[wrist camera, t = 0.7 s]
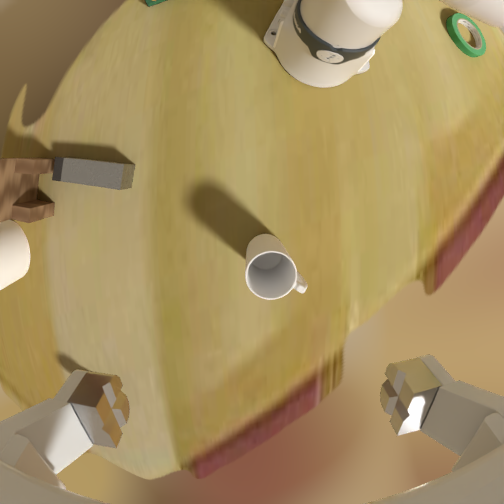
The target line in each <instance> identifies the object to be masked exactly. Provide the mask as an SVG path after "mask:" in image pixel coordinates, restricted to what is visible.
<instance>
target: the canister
mask: <svg viewBox="0 0 504 504" xmlns="http://www.w3.org/2000/svg"><path fill="white" fill-rule="evenodd" d="M29 264H30V249H29V244H28V241H27V238H26V236H25V234H24V232H23V230H22V229H21V227H20V226H19V225H18V224H17V223H16V222H14V221H12V220H7V221H3V222H0V290H2V289H3V288H5V287H6V286H8V285H10V284H11V283H13V282H15V281H16V280H18V279H20V278H21V277H23V276H24V275H25V274H26V273H27V271H28V268H29Z"/></svg>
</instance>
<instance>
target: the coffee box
mask: <svg viewBox="0 0 504 504" xmlns="http://www.w3.org/2000/svg"><path fill="white" fill-rule="evenodd" d="M145 1H146V3H147V5H148V6H149V7H150V6H152V5H155V4H159V3H161V2H163V1H166V0H145Z"/></svg>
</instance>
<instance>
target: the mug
mask: <svg viewBox="0 0 504 504" xmlns="http://www.w3.org/2000/svg"><path fill="white" fill-rule="evenodd" d="M245 279H246V283H247V286H248V287H249V289H250V290H251V291H252V292H253V293H254V294H255V295H256V296H258V297H260V298H263V299H278V298H281V297H283V296H285V295H286V294H288V293H289V292H290V291H291V290H292V289H293V288H294V289H296V290H297V291H298V292H300V293H304V292H305V290H306V289H307V283H306V281H305V280H304V278H303V277H302V276H301V275H300V273H299V272H298V271H297V270H296V266H295V264H294V262H293V260H292V259H291V257H290V256H289V254H288V252H287V251H286V249H285V248H284V246H283V245H282V243H281V242H280V240H279V239H278V238H277V237H275V236H273V235H270V234H261V235H258V236H256V237H254V238H253V239H252V240H251V241H250V242H249V244H248V247H247V252H246V268H245Z"/></svg>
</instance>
